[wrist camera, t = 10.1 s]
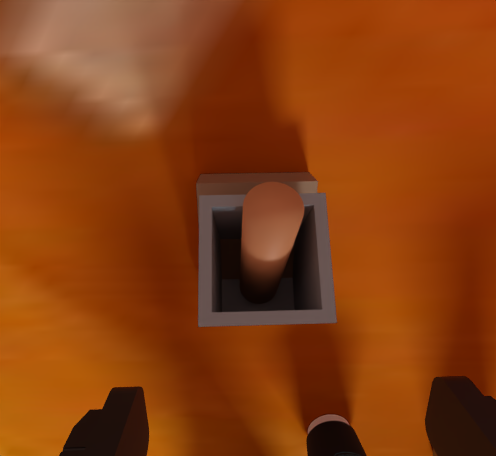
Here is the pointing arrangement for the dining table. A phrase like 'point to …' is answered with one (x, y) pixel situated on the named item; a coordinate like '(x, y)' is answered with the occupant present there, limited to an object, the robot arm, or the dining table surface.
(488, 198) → the dining table surface
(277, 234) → the dowel
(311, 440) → the dixie cup
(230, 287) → the socket
